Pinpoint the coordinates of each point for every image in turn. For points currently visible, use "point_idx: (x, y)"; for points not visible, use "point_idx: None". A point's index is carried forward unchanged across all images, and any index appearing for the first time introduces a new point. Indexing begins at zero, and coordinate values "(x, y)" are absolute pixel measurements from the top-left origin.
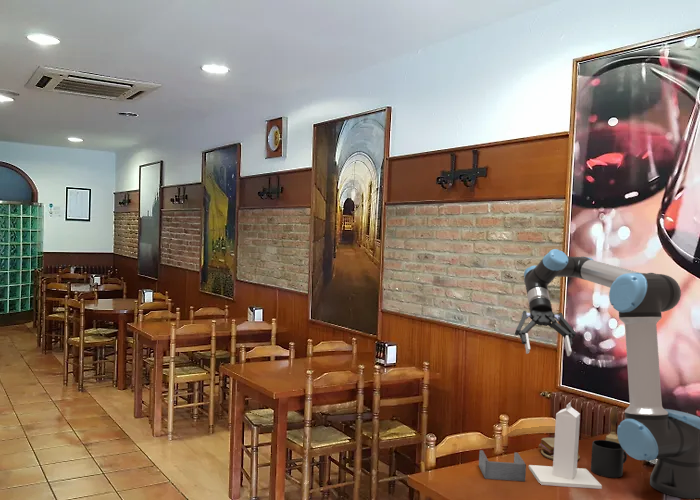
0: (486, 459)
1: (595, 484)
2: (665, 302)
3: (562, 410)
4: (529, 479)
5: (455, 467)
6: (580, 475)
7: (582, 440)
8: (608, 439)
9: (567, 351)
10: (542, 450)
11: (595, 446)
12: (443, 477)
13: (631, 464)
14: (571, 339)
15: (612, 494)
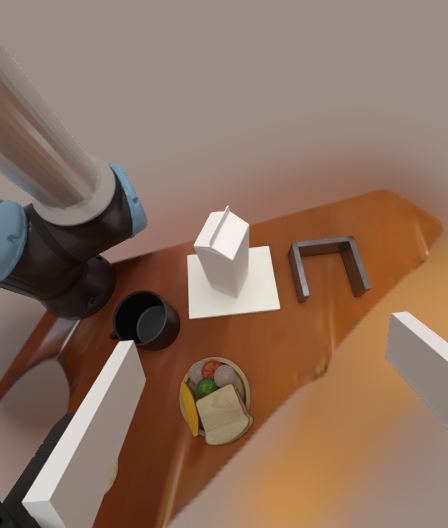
0: (353, 246)
1: (195, 256)
2: None
3: (232, 236)
4: (281, 263)
5: (394, 278)
6: (206, 285)
7: None
8: None
9: (134, 384)
10: (246, 405)
11: (166, 306)
12: (400, 235)
13: None
14: (24, 473)
15: (180, 244)
